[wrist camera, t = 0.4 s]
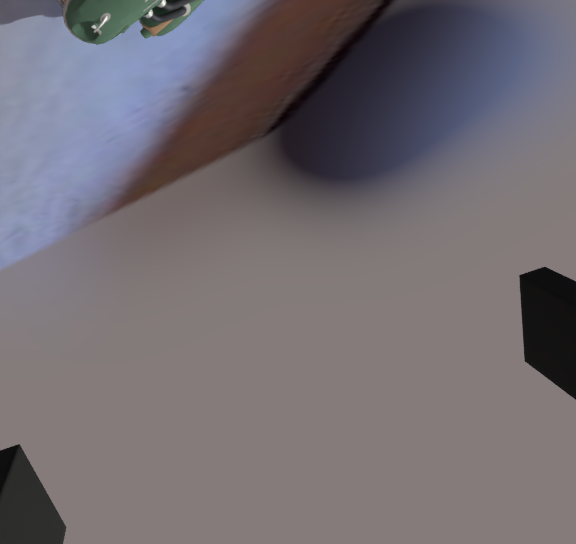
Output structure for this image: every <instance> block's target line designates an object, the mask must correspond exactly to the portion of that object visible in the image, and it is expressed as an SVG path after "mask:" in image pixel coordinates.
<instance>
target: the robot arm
mask: <svg viewBox="0 0 576 544" xmlns="http://www.w3.org/2000/svg"><path fill="white" fill-rule="evenodd" d="M520 293H521V308H522V324H523V340H524V356H525V362H527V363H528V364H529V365H531V366H532V367H533V368H535V369H536V370H537V371H539V372H540V373H541V374H543V375H544V376H545V377H547V378H548V379H549V380H551V381H552V382H553V383H555V384H556V385H557V386H558V387H560V388H561V389H562V390H564V391H565V392H566V393H568V394H569V395H570V396H572V397H573V398H574V399H576V281H574V280H572V279H570V278H567V277H565V276H563V275H561V274H559V273H557V272H555V271H553V270H551V269H548V268H546V267H543V268H540V269H537V270H534V271H531V272H528V273H525V274H522V275H520ZM65 531H66V526H65V524H64V522H63V521H62V519H61V517H60V515H59V514H58V512H57V510H56V508H55V507H54V505H53V503H52V501H51V499H50V498H49V496H48V494H47V492H46V491H45V489H44V487H43V485H42V483H41V482H40V480H39V478H38V476H37V475H36V473H35V471H34V469H33V467H32V466H31V464H30V462H29V460H28V459H27V457H26V455H25V453H24V451H23V450H22V448H21V446H20V445H16V446H13V447H10V448H7V449H4V450H1V451H0V544H63V541H64V536H65Z"/></svg>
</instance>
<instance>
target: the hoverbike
mask: <svg viewBox="0 0 576 544" xmlns="http://www.w3.org/2000/svg"><path fill="white" fill-rule="evenodd" d="M203 1H204V0H58V2H59V3H60V4H61V6H62V7H63V8H64V9H63V18H64V23H65V25H66V27H67V28H68V30H69V31H70V32H71V33H72V34H73V36H75V37H76V38H78V39H80V40H82V41H84V42H87V43H93V44H97V45H98V44H102V43H105V42H107V41H109V40H111V39H113V38H114V37H116V36H118V35H119V34H121V33H122V34H123V33H124V32H125V31H126V30H127V29H128V28H129V26H131V25H132V24H133V23H134V22H136V21H137V20H139V22H140V23H141V24H142V26H143V29H142V30H141V31H140V32H141V34H142V35H143V37H144V38H146V39H147V38H148V37H150V36H151V35H152V36H161V35H164V34H166V33H168V32H170V31H172V30H174V29H175V28H176V27H177V26H179V25H180V24H181V23H182V22H183V21H184V20H185V19H186V18H187V17H188V16H189V15H190V14H191V13H192V12H193V11H194V10H195V9H196V8H197V7H198V6H199V5H200V4H201V3H202V2H203Z"/></svg>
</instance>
